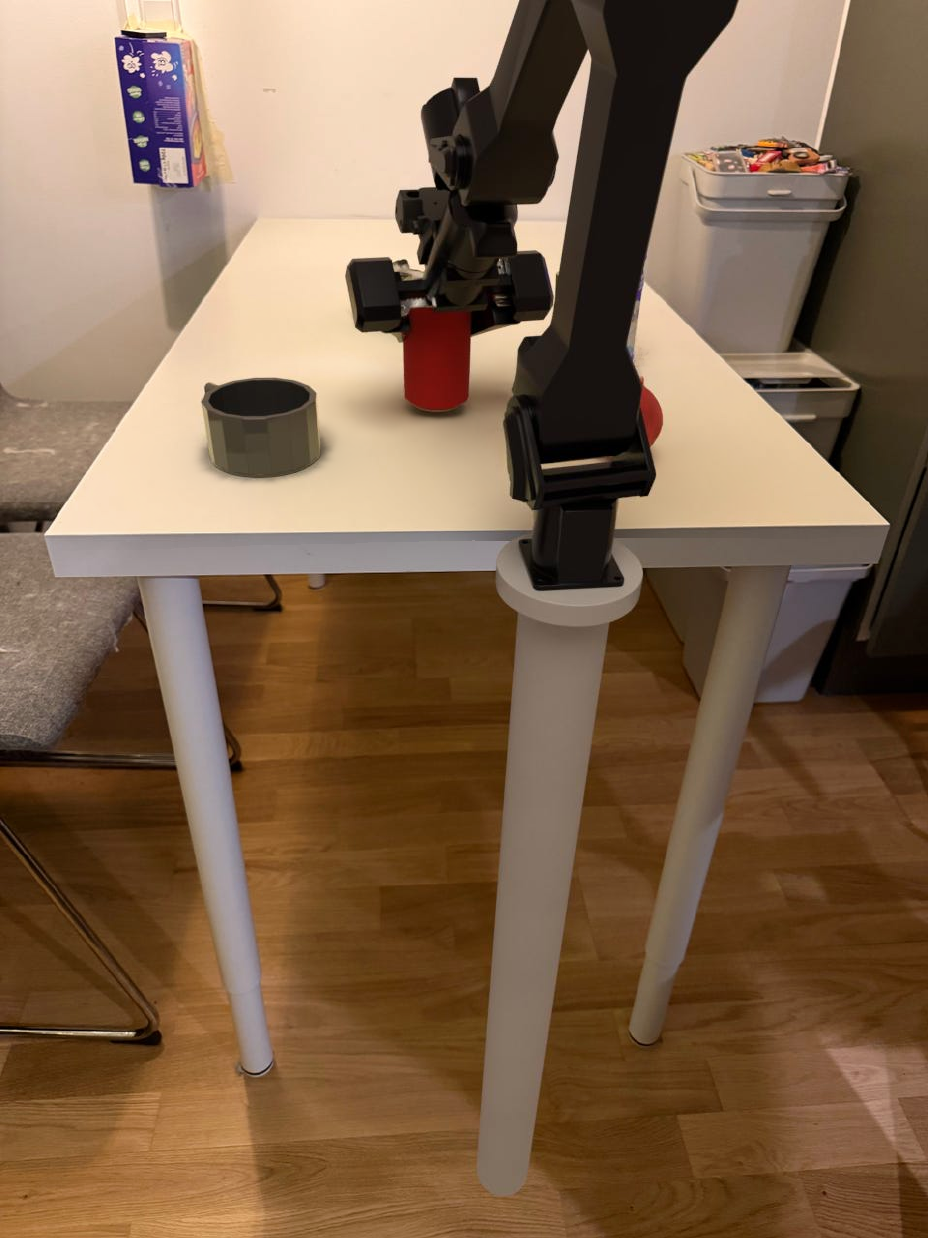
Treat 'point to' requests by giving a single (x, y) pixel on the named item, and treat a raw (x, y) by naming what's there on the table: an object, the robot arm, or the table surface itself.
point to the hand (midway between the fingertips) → (433, 335)
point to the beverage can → (437, 359)
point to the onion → (651, 413)
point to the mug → (261, 426)
